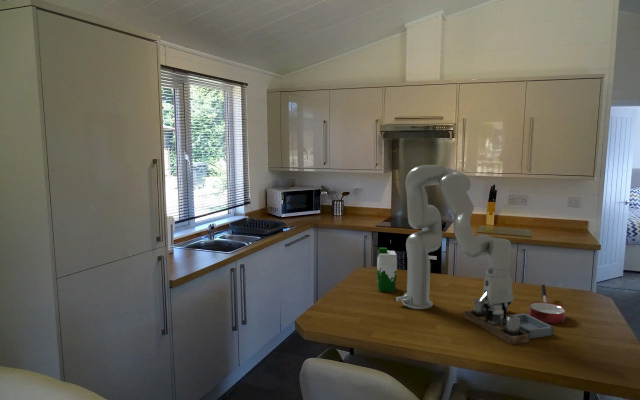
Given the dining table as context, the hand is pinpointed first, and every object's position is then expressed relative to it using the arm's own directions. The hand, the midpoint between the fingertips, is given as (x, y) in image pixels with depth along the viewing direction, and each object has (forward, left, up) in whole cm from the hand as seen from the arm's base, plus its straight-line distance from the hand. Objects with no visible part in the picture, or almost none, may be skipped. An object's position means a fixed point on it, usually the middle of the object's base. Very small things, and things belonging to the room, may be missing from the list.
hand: (495, 318), depth 169 cm
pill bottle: (0, 0, -4) cm, 4 cm away
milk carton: (-19, +53, -4) cm, 56 cm away
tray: (+11, -4, -4) cm, 12 cm away
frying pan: (+32, +11, -4) cm, 34 cm away
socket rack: (0, 0, -4) cm, 4 cm away
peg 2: (0, -9, -4) cm, 10 cm away
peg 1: (0, +9, -4) cm, 10 cm away
